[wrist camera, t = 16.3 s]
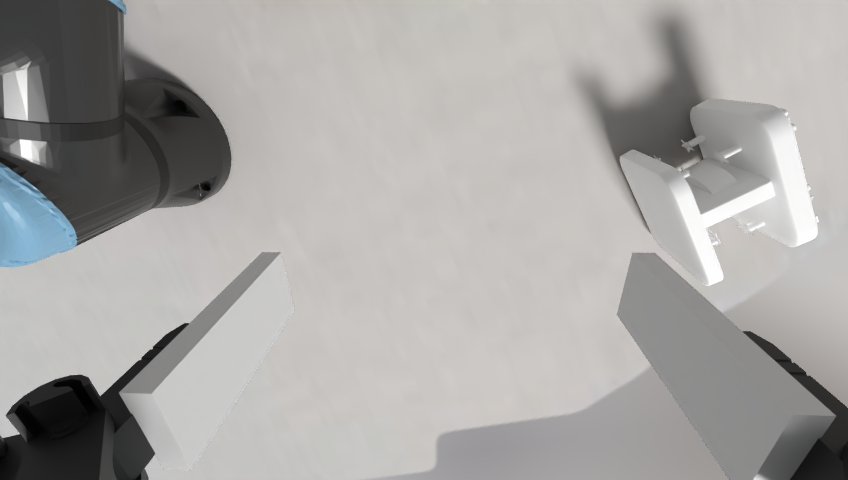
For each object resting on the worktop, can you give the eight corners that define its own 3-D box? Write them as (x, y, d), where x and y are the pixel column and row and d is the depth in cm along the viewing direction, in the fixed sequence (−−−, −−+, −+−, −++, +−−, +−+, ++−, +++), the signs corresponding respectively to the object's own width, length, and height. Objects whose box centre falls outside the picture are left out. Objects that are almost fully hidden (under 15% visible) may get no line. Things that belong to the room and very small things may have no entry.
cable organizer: (608, 146, 41) (661, 173, 31) (703, 92, 38) (798, 101, 28) (652, 243, 46) (711, 294, 36) (739, 202, 43) (832, 245, 33)
